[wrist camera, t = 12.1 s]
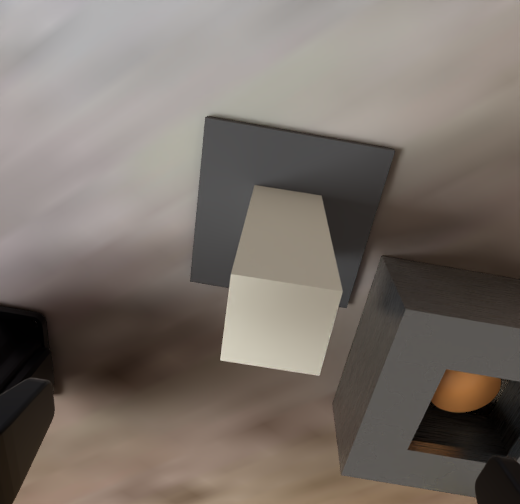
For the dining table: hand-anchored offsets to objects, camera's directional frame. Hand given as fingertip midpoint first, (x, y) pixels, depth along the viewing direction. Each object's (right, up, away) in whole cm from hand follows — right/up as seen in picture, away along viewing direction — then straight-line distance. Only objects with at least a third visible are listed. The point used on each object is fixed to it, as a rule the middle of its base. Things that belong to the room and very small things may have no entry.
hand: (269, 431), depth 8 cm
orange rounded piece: (+10, -2, +13) cm, 16 cm away
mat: (+1, +5, +11) cm, 12 cm away
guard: (+10, -2, +14) cm, 17 cm away
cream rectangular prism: (+1, +5, +10) cm, 12 cm away
